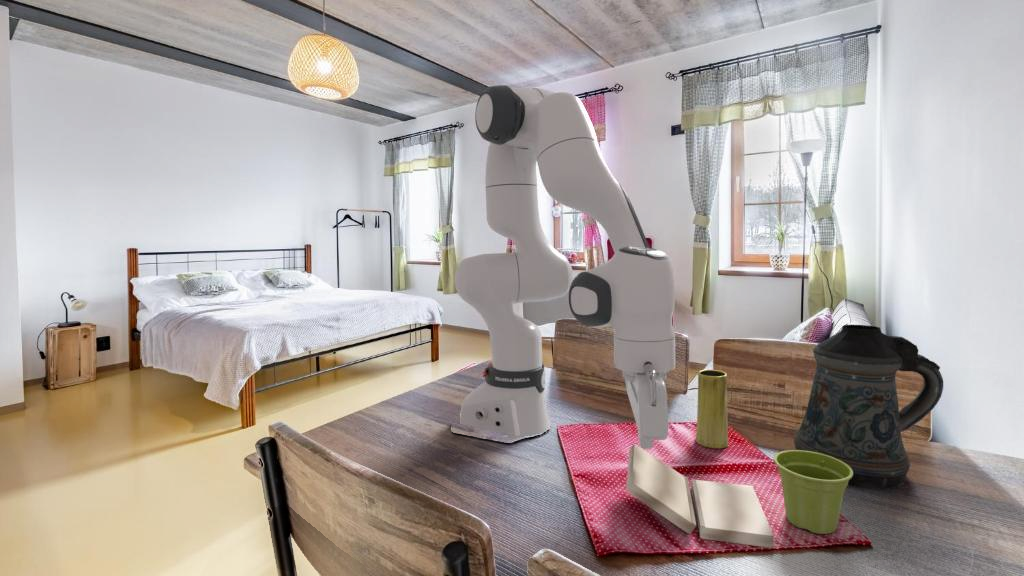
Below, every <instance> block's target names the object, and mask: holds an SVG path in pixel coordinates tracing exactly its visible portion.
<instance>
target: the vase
mask: <svg viewBox="0 0 1024 576" xmlns="http://www.w3.org/2000/svg"><path fill="white" fill-rule="evenodd" d="M697 380H698V381H697V383H698V384H697V405H696V407H697V411H696V412H697V413H696V434H695V435H696V436H695V441H696V443H697V444H699V445H700V446H702V447H705V448H709V449H717V450H718V449H724V448H726V447H728V446H729V443H730V442H729V423H728V421H729V420H728V374H727V373H726V372H725V371H722V370H718V369H701V370H699V371H698V373H697Z"/></svg>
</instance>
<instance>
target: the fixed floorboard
mask: <svg viewBox="0 0 1024 576" xmlns="http://www.w3.org/2000/svg"><path fill="white" fill-rule="evenodd" d="M691 495H692V501H693V506H694V512H695V515H696V516H695V518H696V523H697V525H698V526H697V527H698V531H699V533H698V534H699V538H700V539H701V540H702V539H703V540H709V541H718V542H725V543H733V544H740V545H747V546H754V547H760V548H761V547H762V548H770V549H774V548H775V547H774V545H775V542H774V539H775V538H774V536H775V535H774V533H773V531H772V529H771V526H770V524H769V522H768V519H767V517H766V515H765V512H764V510H763V508H762V504H761V502H760V500H759V498H758V496H757V494H756V490H755V489H754V486H753V485H747V484H741V483H740V484H738V483H730V482H728V483H727V482H721V481H720V482H718V481H709V480H699V479H695V478H691Z"/></svg>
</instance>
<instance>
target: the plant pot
mask: <svg viewBox="0 0 1024 576" xmlns="http://www.w3.org/2000/svg"><path fill="white" fill-rule="evenodd" d="M773 462H774V463H775V465H776V467H777V470H778V473H779V474H780V480H781V487H782V493H783V494H782V495H783V501H784V508H785V509H784V510H785V516H786V519H787V521H788V522H789V523H791V524H792V525H793V526H795V527H797V528H798V529H806V530H808V531H810V532H811V533H814V534H820V535H823V534H824V535H825V534H826V535H827V534H832V533H834V532H835V531H836V529H837V527H838V523H839V519H840V514H841V509H842V505H843V498H844V495H845V490H846V488H847V487H848V486H849V485H848V481H849V480H850V479H851V478H852V476H853V471H852V469H851V468H850V467H849V466H848V465H847V464H846V463H844V462H842V461H840V460H838V459H836V458H834V457H831V456H828V455H824V454H821V453H817V452H811V451H803V450H796V449H789V450H783V451H782V450H781V451H780V452H777V453H776V454H775V455H774V457H773Z"/></svg>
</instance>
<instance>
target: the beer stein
mask: <svg viewBox="0 0 1024 576" xmlns="http://www.w3.org/2000/svg"><path fill="white" fill-rule="evenodd" d="M813 357H814V359H815V361H816V367H815V371H814V376H813V379H812V385H811V390H810V394H809V398H808V402H807V406H806V409H805V412H804V415H803V418H802V421H801V423H800V426H799V428H798V429H797V431H796V433H795V434H794V438H793V439H794V440H793V442H794V447H795V450H803V451H811V452H817V453H821V454H824V455H828V456H831V457H834V458H836V459H838V460H840V461H842V462H844V463H846V464H847V465H848V466H849V467H850V468H851V469H852V471H853V476H852V478H851V479H850V480H849V481H848V485H847V486H849V487H853V488H859V489H860V488H861V489H871V490H888V489H887V488H890V489H894V488H893V487H896V488H898V487H900V486H901V485H900V484H902V483H904V482H905V483H906V479H907V474H908V472H909V470H910V468H911V460H910V457H909V455H908V453H907V451H906V448H905V446H904V444H903V443H904V442H903V438H902V432H905V431H906V430H909V429H910V428H911V427H913V426H914V425H916V424H917V423H919V422H920V421H922V419H924V418H925V417H926V416H927V415H928V414H929V413H930V412H932V410H933V409H935V407H936V406H937V404H938V403H939V401H940V399H941V398H942V396H943V395H942V394H943V391H944V379H943V376H942V374H941V372H940V369H941V366H939V365H938V364H937V362H935V361H932V360H931V359H929V358H927V357H925V356H924V355H921V354H919V349H918V346H917V345H916V344H915V343H913V342H911V341H910V340H909V339H906V338H905V337H903V336H897V335H887V334H885V333H883V332H882V329H881V327H878V326H873V325H864V324H844V325H843V326H842V327H841V330H840V331H838V332H837V333H835V334H834V335H832V336H830V337H828V338H827V339H824V340H822V341H821V342H819V343H818V344H817V345H816V346H815V347H814V348H813ZM898 371H899V372H914V373H918V374H919V375H920V376H921V377H922V378H923V385H922V387H921V389H920V391H919V393H918V394H917V395H916V397H914V398H913V399H912V400H911V401H910V402H909V403H908V404H906V405H905V406H903V407H902V408H901V409H900V408H899V398H898V397H899V396H898V390H897V389H898V388H897V383H896V374H897V372H898ZM905 483H904V484H905ZM899 485H900V486H899ZM902 485H903V484H902ZM897 486H898V487H897Z"/></svg>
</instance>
